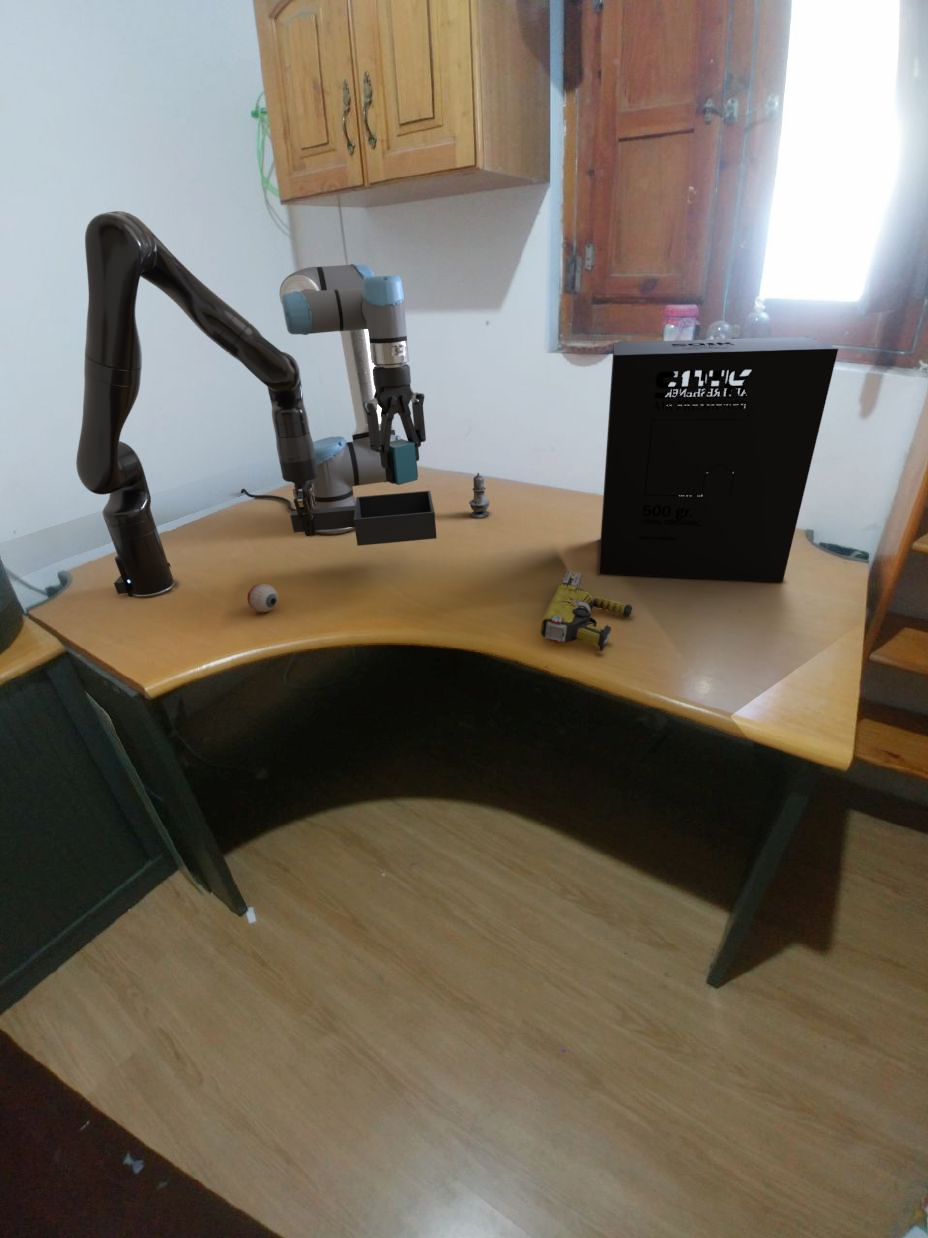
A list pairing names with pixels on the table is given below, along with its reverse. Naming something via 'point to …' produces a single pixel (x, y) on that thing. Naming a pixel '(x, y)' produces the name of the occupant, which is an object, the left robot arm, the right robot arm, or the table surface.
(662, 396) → the cardboard box
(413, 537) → the tray
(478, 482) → the stone chess piece
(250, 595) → the eyeball
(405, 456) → the block
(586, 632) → the toy gun
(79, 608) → the table surface
